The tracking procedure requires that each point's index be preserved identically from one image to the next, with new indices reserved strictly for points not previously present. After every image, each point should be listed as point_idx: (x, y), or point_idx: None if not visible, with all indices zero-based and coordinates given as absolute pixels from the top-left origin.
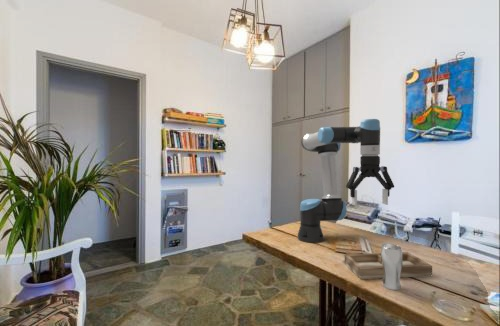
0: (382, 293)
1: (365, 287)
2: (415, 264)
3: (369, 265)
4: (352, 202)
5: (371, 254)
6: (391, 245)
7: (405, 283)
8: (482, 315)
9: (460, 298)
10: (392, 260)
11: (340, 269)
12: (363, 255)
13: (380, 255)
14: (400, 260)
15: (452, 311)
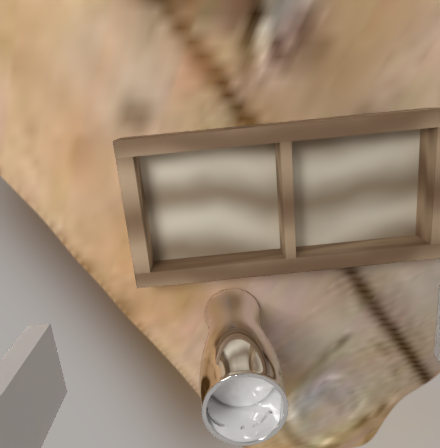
0: (180, 352)
1: (140, 322)
2: (419, 180)
3: (218, 184)
4: (18, 344)
5: (252, 139)
6: (263, 375)
7: (289, 295)
8: (377, 430)
9: (391, 368)
10: (223, 410)
11: (88, 194)
12: (207, 149)
13: (291, 151)
14: (256, 409)
15: (318, 419)
